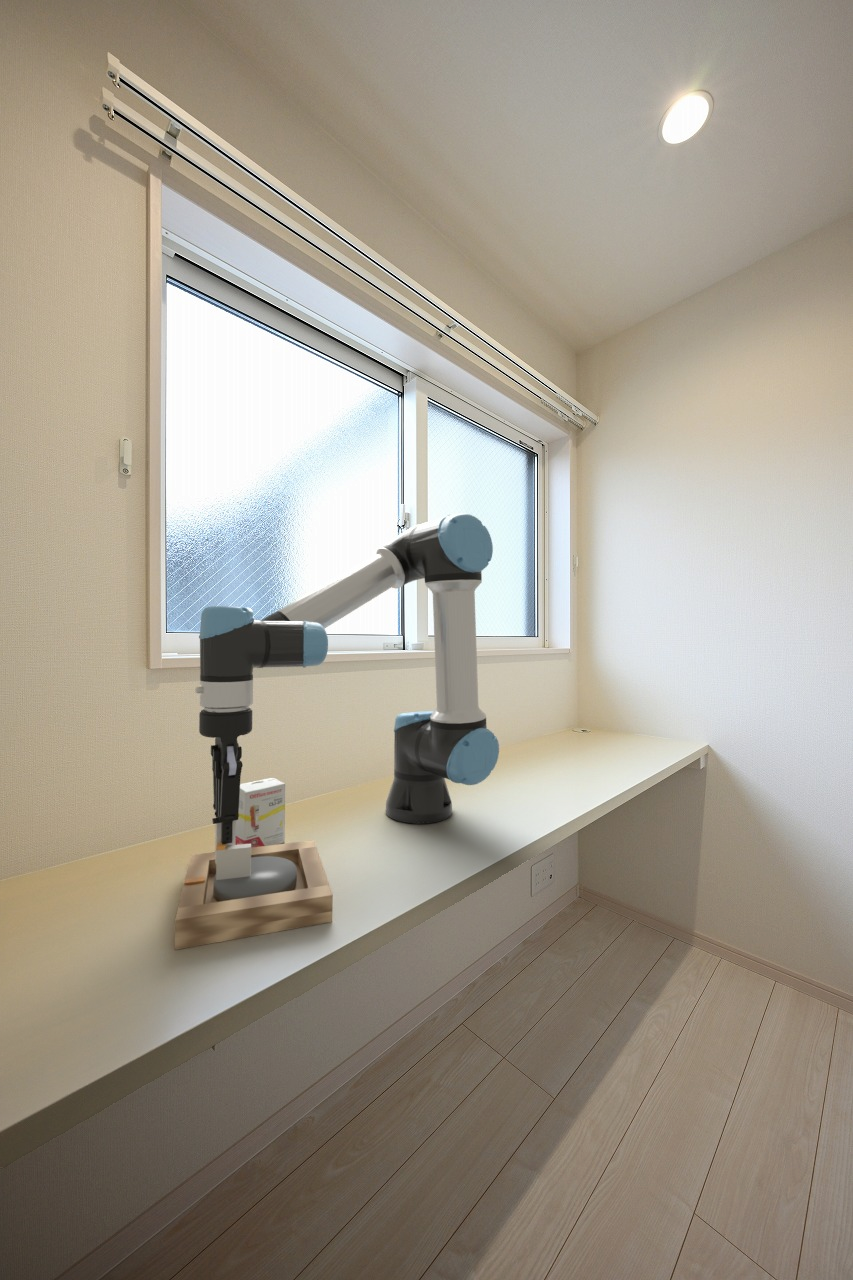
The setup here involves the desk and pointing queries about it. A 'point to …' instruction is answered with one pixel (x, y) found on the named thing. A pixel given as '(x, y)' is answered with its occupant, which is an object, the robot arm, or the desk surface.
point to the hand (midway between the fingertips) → (225, 861)
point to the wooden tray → (252, 900)
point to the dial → (250, 873)
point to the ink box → (261, 813)
